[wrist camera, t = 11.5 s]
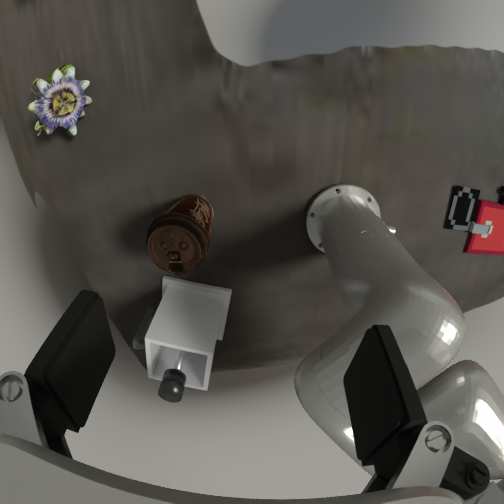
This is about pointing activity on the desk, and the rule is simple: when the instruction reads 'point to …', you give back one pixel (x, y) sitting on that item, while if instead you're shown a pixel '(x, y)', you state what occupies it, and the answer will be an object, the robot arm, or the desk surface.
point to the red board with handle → (478, 221)
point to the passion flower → (60, 100)
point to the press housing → (184, 329)
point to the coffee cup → (181, 235)
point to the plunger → (173, 381)
